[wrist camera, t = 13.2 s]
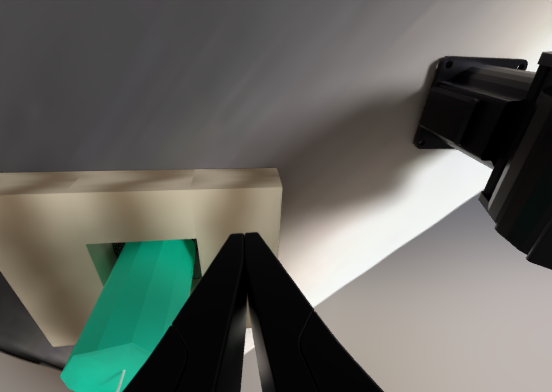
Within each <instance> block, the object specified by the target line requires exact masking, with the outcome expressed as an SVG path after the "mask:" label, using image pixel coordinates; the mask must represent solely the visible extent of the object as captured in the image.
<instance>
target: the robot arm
mask: <svg viewBox="0 0 552 392" xmlns="http://www.w3.org/2000/svg"><path fill="white" fill-rule="evenodd" d="M448 61H449V65H448V66H447V67H446V64H447V62H448ZM538 64H539V67H538V69H537V72H530V71H525V70H526V68H527V65H528V62H527V60H524V59H510V58H486V57H463V56H445V57H444V58H442V59H441V61H440V62H439V65H438V68H437V71H436V74H435V77H434V80H433V83H432V86H431V89H430V91H429V94H428V97H427V100H426V103H425V106H424V109H423V112H422V116H421V119H420V122H419V126H418V129H417V132H416V135H415V138H414V142H413V144H414V146H415V147H417V148H419V149H457V150H459V151H461V152H463V153H464V154H466V155H468V156H470V157H471V158H473V159H475V160H477V161H479V162H480V163H482V164H484V165H486V166H488V167H489V168H491V169H493V171H492V173H491V175H490V178H489V180H488V182H487V184H486V187H485V189H484V191H482V192H481V193H480V196H479V198H478V200H479V201H480V202H481V204H482V205H483V207H484V208H485V209H486V211H487V212H488V213H489V215H490V216H491V218H492V219H493V220H494V222H495V223H496V225H495V230H496V231H497V232H498V233H499V234H500V235H501V236H502V237H504V238H505V239H506V240H507V241H509V242H510V243H511V244H512V245H513V246H515V247H516V248H517V249H518V250H519V251H521V252H523V253H525V254H527V257H526V259H527V260H528V261H529V262H532V263H534V264H537V265H540V266H543V267H546V268H548V269H551V270H552V52H542V54H541V57H540V59H539V61H538ZM518 66H519V67H518ZM517 67H518V69H517ZM421 140H423V141H422V143H420V141H421ZM419 143H420V144H419ZM247 296H248V297H247ZM247 307H249V315H250V321H251V327H252V333H253V339H254V345H255V350H256V356H257V363H258V368H259V375H260V380H261V387H262V392H384V391H383V390H382V389H381V388H380V387H379V386H378V385H377V384H376V383H375V382H374V380H373V379H372V378H371V377H370V376H369V375H368V374H367V373H366V372H365V371H364V369H363V368H362V367H361V366H360V365H359V364H358V363H357V362H356V361H355V360H354V359H353V357H352V356H351V355H350V354H349V353H348V352H347V350H345V348H344V347H343V346H342V345H341V344H340V343H339V341H338V340H337V339H336V338H335V336H334V335H333V334H332V333H331V331H330V330H329V329H328V327H327V326H326V325H325V323H324V322H323V321H322V320H321V318H320V317H319V315H318V314H317V313H316V312H315V311H314V308H313V307H312V306H311V304H310V303H309V302H308V300H307V299H306V297H305V296H304V295H303V293H302V292H301V291H300V289H299V288H298V286H297V285H296V284H295V282H294V281H293V280H292V278H291V277H290V275H289V274H288V273H287V271H286V270H285V269H284V267H283V266H282V264H281V263H280V262H279V260H278V259H277V258H276V256H275V255H274V253H273V252H272V251H271V249H270V248H269V246H268V245H267V244H266V242H265V241H264V240H263V238H262V237H261V235H260V234H259V233H258V232H247V233H245V235H244V234H243V233H233V234H230V235H229V237H228V238H227V240H226V241H225V243H224V244H223V246H222V247H221V249H220V250H219V252H218V253H217V255H216V257H215V258H214V260H213V261H212V263H211V264H210V266H209V267H208V269H207V270H206V272H205V273H204V275H203V276H202V278H201V279H200V281H199V282H198V284H197V285H196V287H195V289H194V290H193V292H192V293H191V295H190V296H189V298H188V299H187V301H186V302H185V304H184V305H183V307H182V308H181V310H180V311H179V313H178V314H177V316H176V317H175V319H174V321H173V322H172V325H171V326H169V328H168V329H167V331H166V332H165V334H164V336H163V337H162V339H161V340H160V342H159V343H158V344H157V346H156V347H155V349H154V350H153V352H152V353H151V354H150V356H149V357H148V359H147V360H146V362H145V363H144V364H143V366H142V367H141V368H140V369H139V371H138V372H137V373H136V375H135V376H134V377H133V378H132V380H131V381H130V382H129V384H128V385H127V386H126V387H125V389H124V390H123V391H122V392H240V390H241V378H242V367H243V356H244V345H245V333H246V321H247Z"/></svg>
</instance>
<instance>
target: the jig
mask: <svg viewBox="0 0 552 392" xmlns="http://www.w3.org/2000/svg"><path fill="white" fill-rule="evenodd" d="M282 188H283V187H282V184H281V180H280V177H279V174H278V170H277V168H249V169H192V170H135V171H78V172H22V173H0V271H1V273H2V274H3V276H4V277H5V278H6V280H7V281H8V283H9V284H10V286H11V287H12V289H13V290H14V291H15V293H16V294H17V296H18V297H19V299H20V300H21V302H22V303H23V304H24V306H25V307H26V309H27V310H28V312H29V313H30V315H31V316H32V317H33V319H34V320H35V322H36V323H37V325H38V326H39V328H40V329H41V330H42V332H43V333H44V335H45V336H46V338H47V339H48V340H49V342H50V343H51V345H52V346H53V347H58V346H68V345H76V343H77V340H78V338H79V336H80V334H81V332H82V330H83V328H84V326H85V324H86V322H87V320H88V318H89V316H90V314H91V312H92V310H93V308H94V306H95V304H96V302H97V300H98V298H99V296H100V294H101V292H102V290H103V287H104V285H105V283H106V281H107V279H108V277H109V275H110V273H111V271H112V269H113V267H114V265H115V263H116V261H117V258H116V255H115V252H114V249H113V246H112V244H111V243H119V242H139V241H158V240H178V239H197V244H198V251H199V258H200V265H201V273H202V276H203V275H204V273H205V272H206V270H207V269H208V267H209V266H210V264H211V263H212V261H213V260H214V258H215V257H216V255H217V253H218V252H219V250H220V249H221V247H222V246H223V244H224V243H225V241H226V240H227V238H228V237H229V235H230V234H233V233H243V234H244V235H245V233H247V232H258V233H259V234H260V235H261V237H262V238H263V240H264V241H265V242H266V244H267V245H268V246H269V248H270V249H271V251H272V252H273V253H274V255H275V256H276V258H277V259H278V248H279V233H280V218H281V203H282ZM200 279H201V278H197V279H192V283H191V290H190V295H191V293H192V292H193V290H194V289H195V287H196V285H197V284H198V282H199V281H200ZM247 297H248V296H247ZM246 328H252V327H251V321H250V315H249V307H247V321H246Z"/></svg>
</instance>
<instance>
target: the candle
mask: <svg viewBox="0 0 552 392" xmlns="http://www.w3.org/2000/svg"><path fill="white" fill-rule="evenodd" d="M195 258H196V247H195V243H194V242H193V241H192V239H178V240H158V241H139V242H126V243H125V245H124V247H123V249H122V251H121V253H120V255H119V257H118V259H117V261H116V263H115V265H114V267H113V269H112V271H111V273H110V275H109V277H108V279H107V281H106V283H105V285H104V287H103V290H102V292H101V294H100V296H99V298H98V300H97V302H96V304H95V306H94V308H93V310H92V312H91V314H90V316H89V318H88V320H87V322H86V324H85V326H84V328H83V330H82V332H81V334H80V336H79V338H78V340H77V343H76V345H75V347H74V349H73V351H72V353H71V355H70V357H69V359H68V361H67V363H66V365H65V367H64V369H63V371H62V373H61V375H60V377H61V379H62V380H63V382H64V383H65V385H66V386H67V387H68V389H71V390H73V391H75V392H122V391H123V390H124V389H125V387H126V386H127V385H128V384H129V382H130V381H131V380H132V378H133V377H134V376H135V375H136V373H137V372H138V371H139V369H140V368H141V367H142V366H143V364H144V363H145V362H146V360H147V359H148V357H149V356H150V354H151V353H152V352H153V350H154V349H155V347H156V346H157V344H158V343H159V342H160V340H161V339H162V337H163V336H164V334H165V332H166V331H167V329H168V328H169V326H171V325H172V322H173V321H174V319H175V317H176V316H177V314H178V313H179V311H180V310H181V308H182V307H183V305H184V304H185V302H186V301H187V299H188V298H189V296H190V290H191V283H192V277H193V271H194V265H195Z"/></svg>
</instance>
